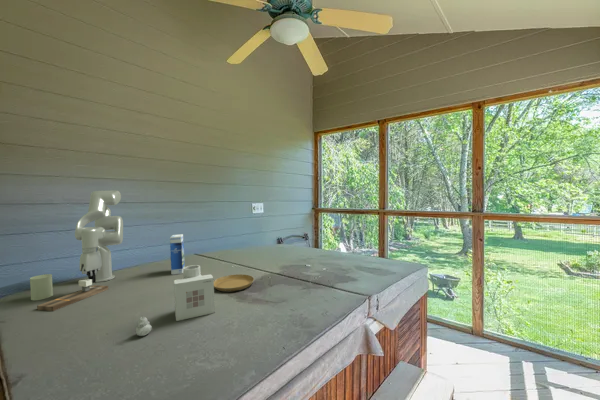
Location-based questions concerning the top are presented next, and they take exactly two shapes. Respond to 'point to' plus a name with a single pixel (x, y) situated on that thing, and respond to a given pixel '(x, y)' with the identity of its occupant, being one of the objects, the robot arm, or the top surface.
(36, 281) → the can
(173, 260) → the string lights box
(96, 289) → the fader console
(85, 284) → the fader knob
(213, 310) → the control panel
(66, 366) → the top surface
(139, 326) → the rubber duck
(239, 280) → the plant saucer
